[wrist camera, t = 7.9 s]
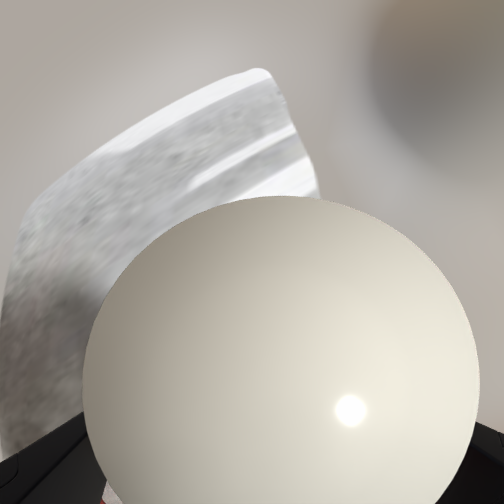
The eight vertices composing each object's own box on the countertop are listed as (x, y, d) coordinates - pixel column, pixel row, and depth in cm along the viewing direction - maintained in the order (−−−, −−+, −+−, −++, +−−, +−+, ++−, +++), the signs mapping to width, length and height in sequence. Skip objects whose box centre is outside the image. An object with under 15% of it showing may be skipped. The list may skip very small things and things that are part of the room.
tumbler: (309, 442, 13) (500, 470, 2) (209, 461, 12) (130, 584, 1) (288, 353, 16) (404, 188, 5) (193, 368, 15) (91, 220, 4)
